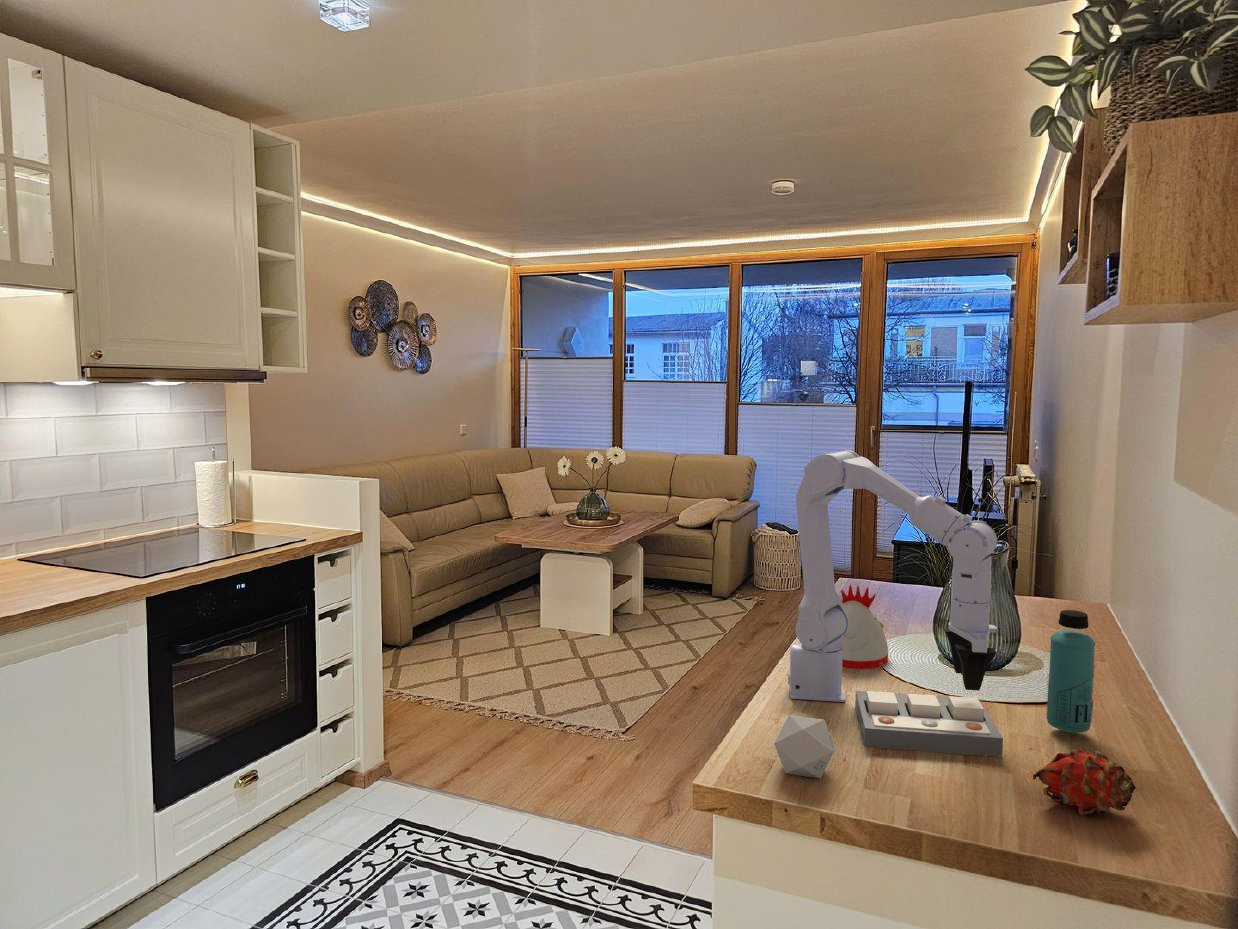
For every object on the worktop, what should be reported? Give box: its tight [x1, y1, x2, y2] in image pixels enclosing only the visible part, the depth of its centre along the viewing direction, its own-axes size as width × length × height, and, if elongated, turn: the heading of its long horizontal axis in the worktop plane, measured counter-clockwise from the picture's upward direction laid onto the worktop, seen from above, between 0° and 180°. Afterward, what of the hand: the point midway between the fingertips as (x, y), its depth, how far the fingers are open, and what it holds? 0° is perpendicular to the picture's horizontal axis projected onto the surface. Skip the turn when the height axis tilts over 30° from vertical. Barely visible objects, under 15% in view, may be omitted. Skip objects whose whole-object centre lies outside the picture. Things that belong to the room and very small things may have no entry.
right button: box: [948, 695, 985, 721], centre depth 132 cm, size 4×4×2 cm
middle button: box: [906, 693, 941, 718], centre depth 133 cm, size 4×4×2 cm
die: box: [773, 714, 836, 780], centre depth 119 cm, size 8×9×10 cm
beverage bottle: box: [1045, 609, 1096, 734], centre depth 130 cm, size 6×7×20 cm
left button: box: [866, 690, 898, 715], centre depth 134 cm, size 4×4×2 cm
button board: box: [854, 690, 1004, 757], centre depth 132 cm, size 20×15×3 cm
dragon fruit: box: [1032, 748, 1137, 817], centre depth 108 cm, size 8×8×12 cm
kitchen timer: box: [840, 584, 889, 670], centre depth 165 cm, size 14×14×15 cm
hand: (966, 681), depth 131 cm, fingers open, 6 cm apart
